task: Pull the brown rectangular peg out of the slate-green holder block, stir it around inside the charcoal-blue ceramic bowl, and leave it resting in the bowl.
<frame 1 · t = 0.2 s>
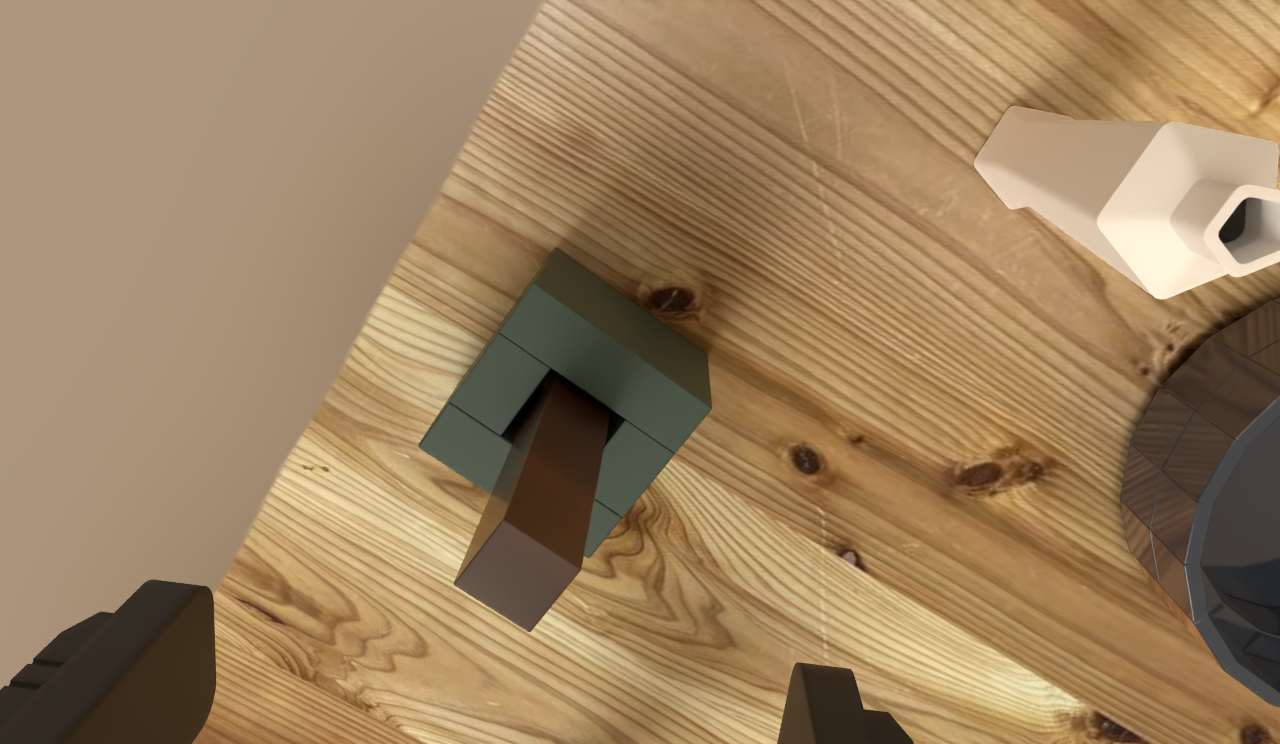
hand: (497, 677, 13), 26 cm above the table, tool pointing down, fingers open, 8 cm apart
brown rectangular peg: (555, 450, 32), in the holder
perfume bottle: (1021, 156, 36), on the table
holder: (579, 372, 39), on the table
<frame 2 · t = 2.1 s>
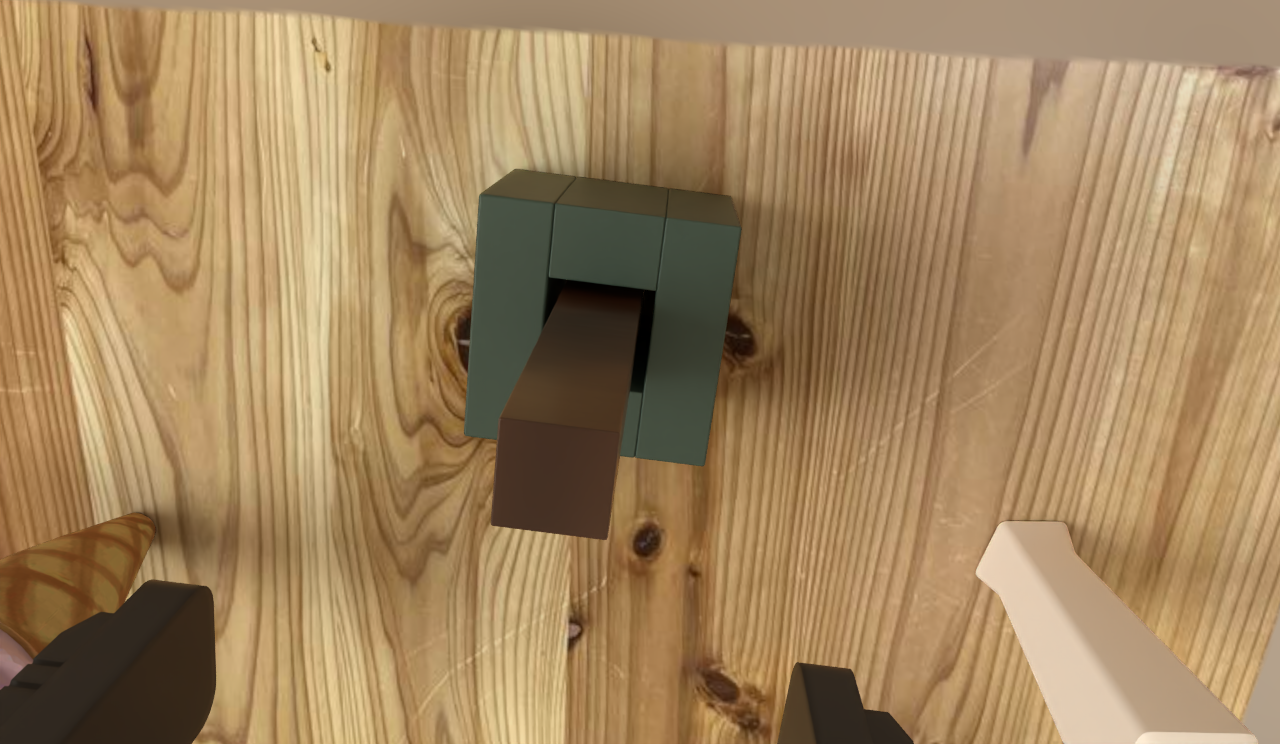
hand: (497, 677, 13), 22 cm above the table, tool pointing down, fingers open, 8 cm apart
brown rectangular peg: (590, 357, 26), in the holder
perfume bottle: (1023, 554, 37), on the table
holder: (610, 288, 34), on the table
ice cream cone: (134, 519, 38), on the table
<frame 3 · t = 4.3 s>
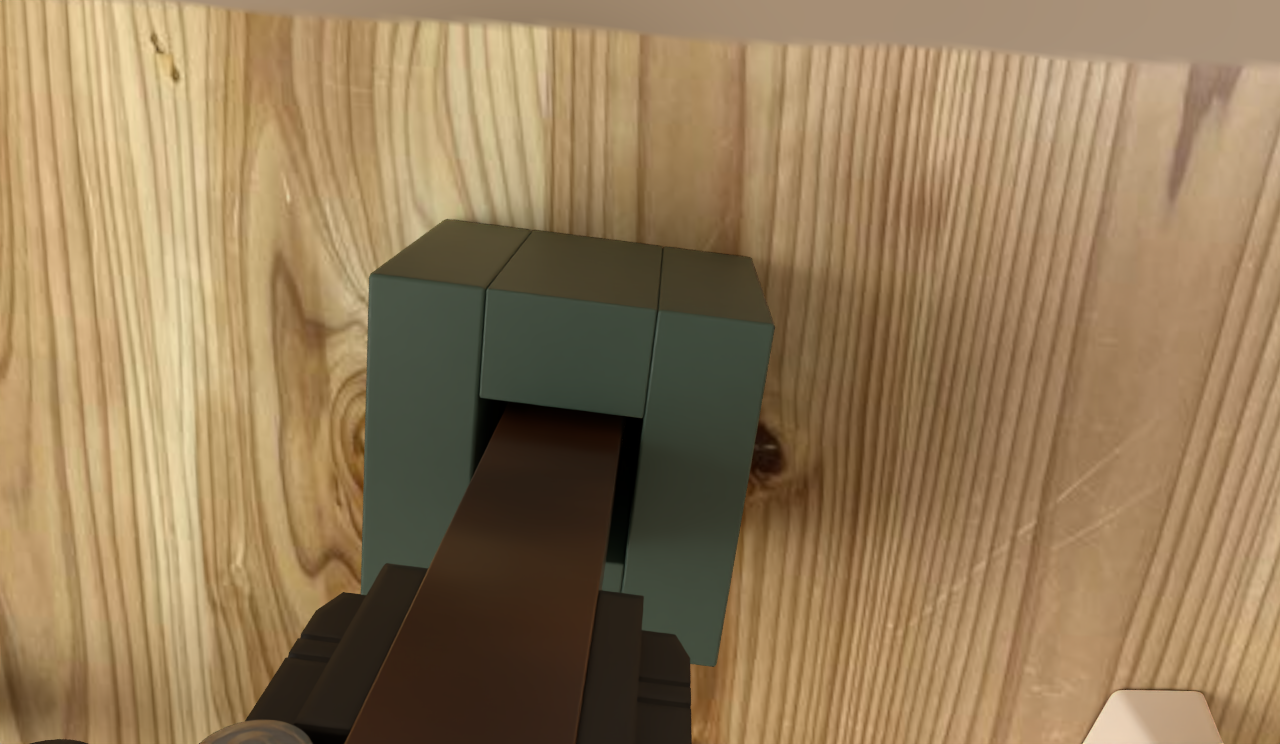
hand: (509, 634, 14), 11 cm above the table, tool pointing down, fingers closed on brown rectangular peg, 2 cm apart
brown rectangular peg: (540, 532, 17), in the holder, touching gripper
perfume bottle: (1142, 730, 27), on the table
holder: (582, 382, 24), on the table
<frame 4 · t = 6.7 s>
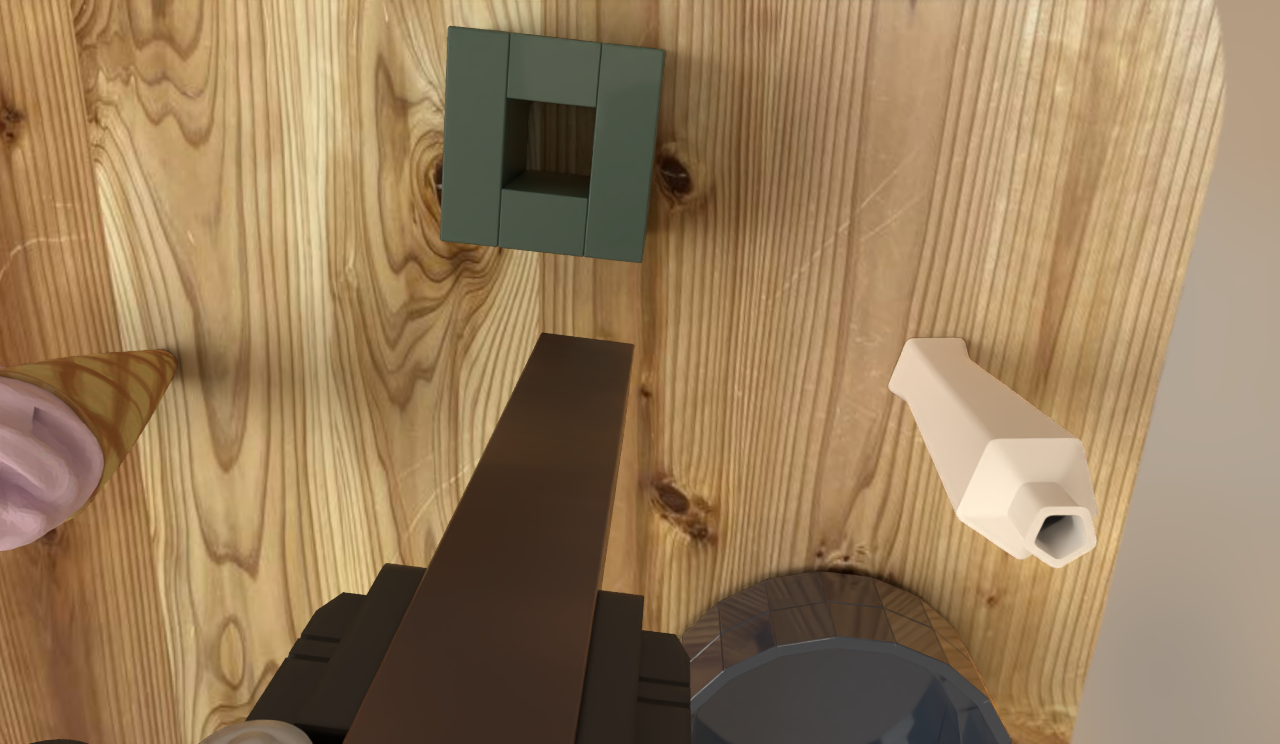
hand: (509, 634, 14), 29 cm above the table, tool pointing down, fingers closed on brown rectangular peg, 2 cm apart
brown rectangular peg: (540, 531, 17), point 26 cm above the table, touching gripper
bowl: (815, 704, 49), on the table
perfume bottle: (929, 369, 43), on the table
holder: (566, 134, 40), on the table
ice cream cone: (159, 356, 44), on the table
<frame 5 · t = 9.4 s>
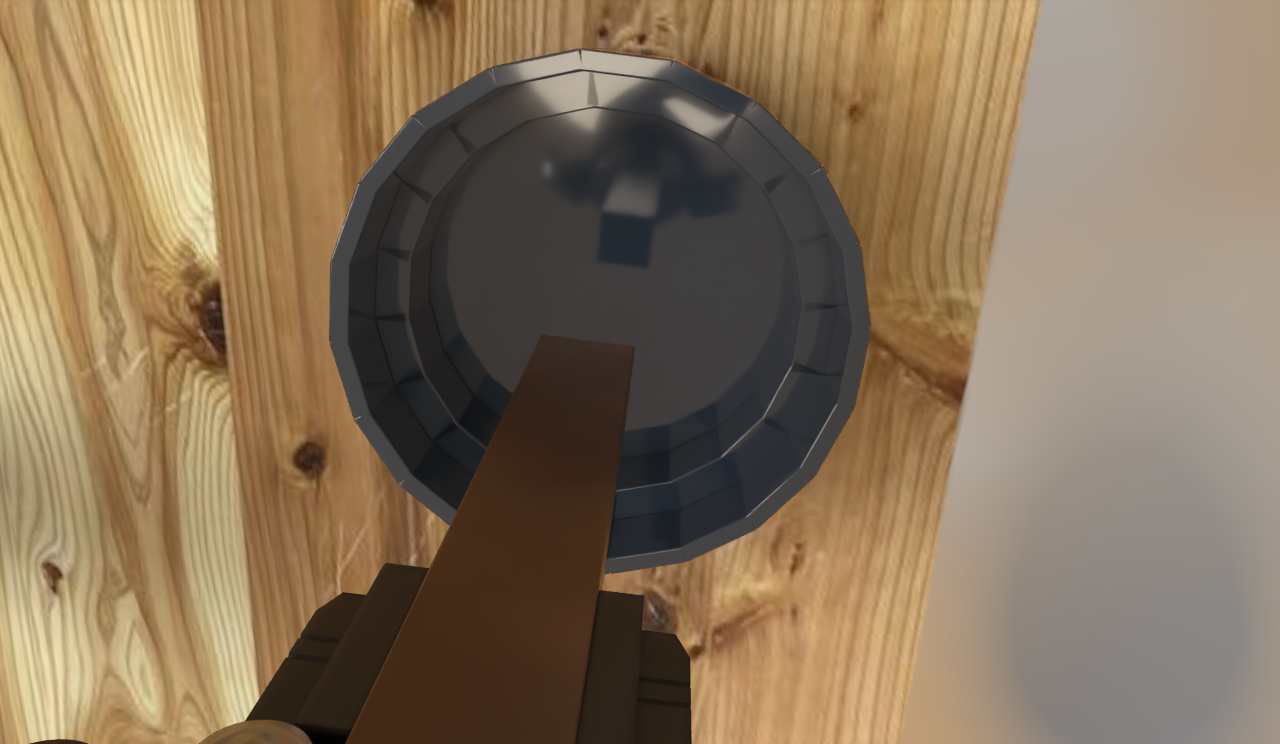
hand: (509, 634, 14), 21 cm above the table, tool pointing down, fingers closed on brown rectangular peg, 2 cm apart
brown rectangular peg: (540, 534, 17), point 18 cm above the table, touching gripper
bowl: (610, 288, 34), on the table
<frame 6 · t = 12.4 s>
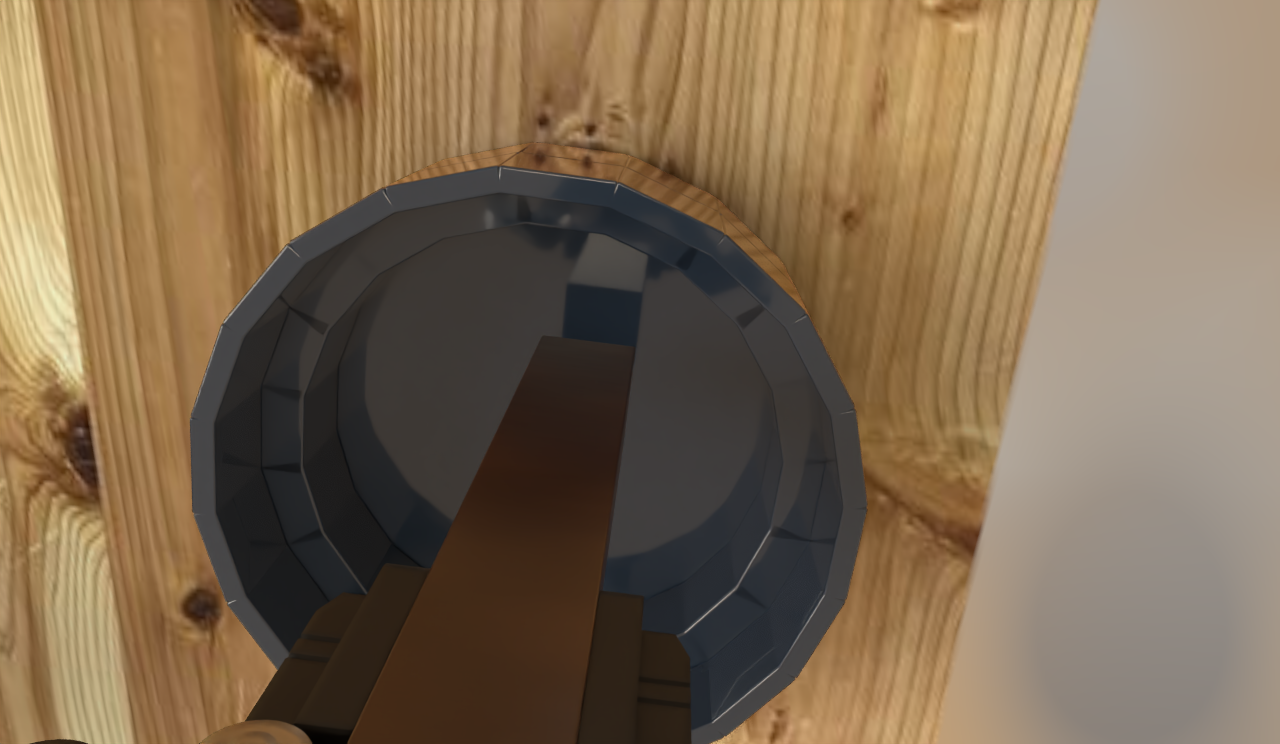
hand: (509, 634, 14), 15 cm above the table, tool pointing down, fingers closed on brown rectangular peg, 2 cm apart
brown rectangular peg: (541, 535, 17), point 11 cm above the table, touching gripper
bowl: (555, 419, 28), on the table
when the fingers open (12 cm above the table, at t = 14.4 s): brown rectangular peg stays where it is, resting on bowl.
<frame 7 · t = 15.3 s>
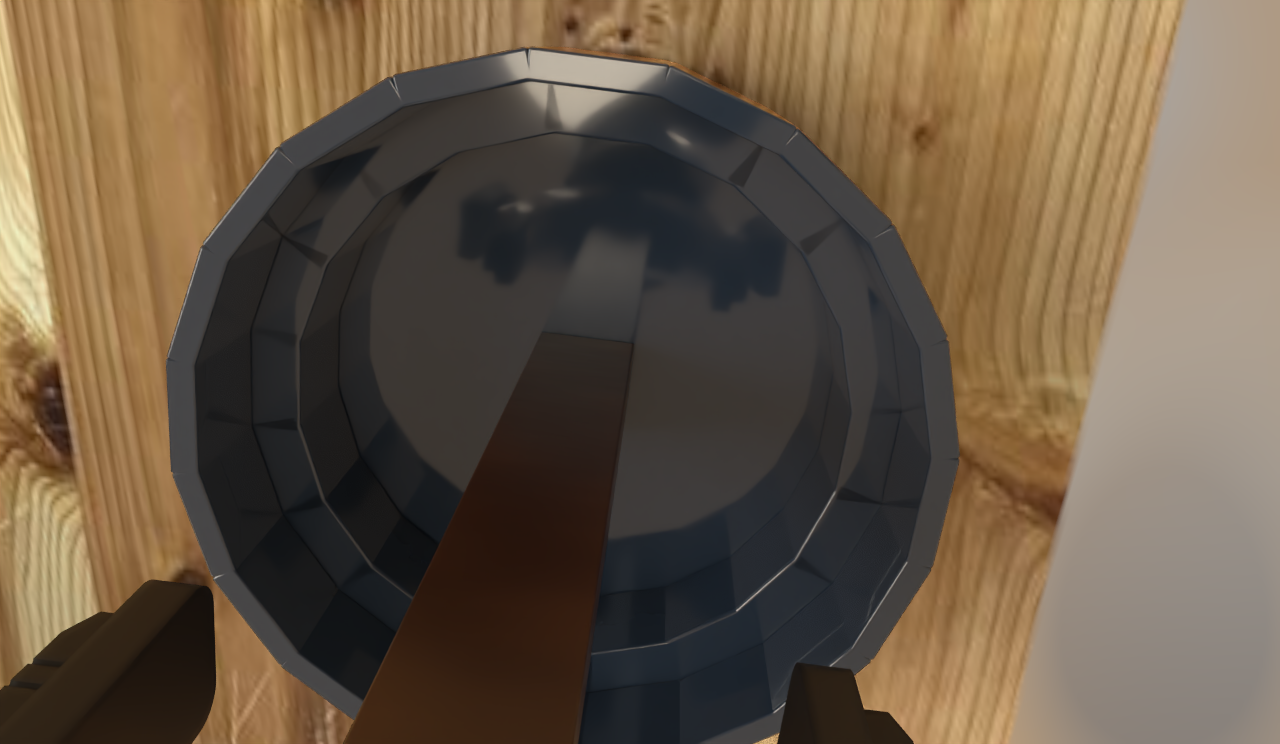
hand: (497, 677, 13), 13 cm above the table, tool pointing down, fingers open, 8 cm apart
brown rectangular peg: (540, 528, 17), in the bowl, point 9 cm above the table
bowl: (584, 372, 25), on the table
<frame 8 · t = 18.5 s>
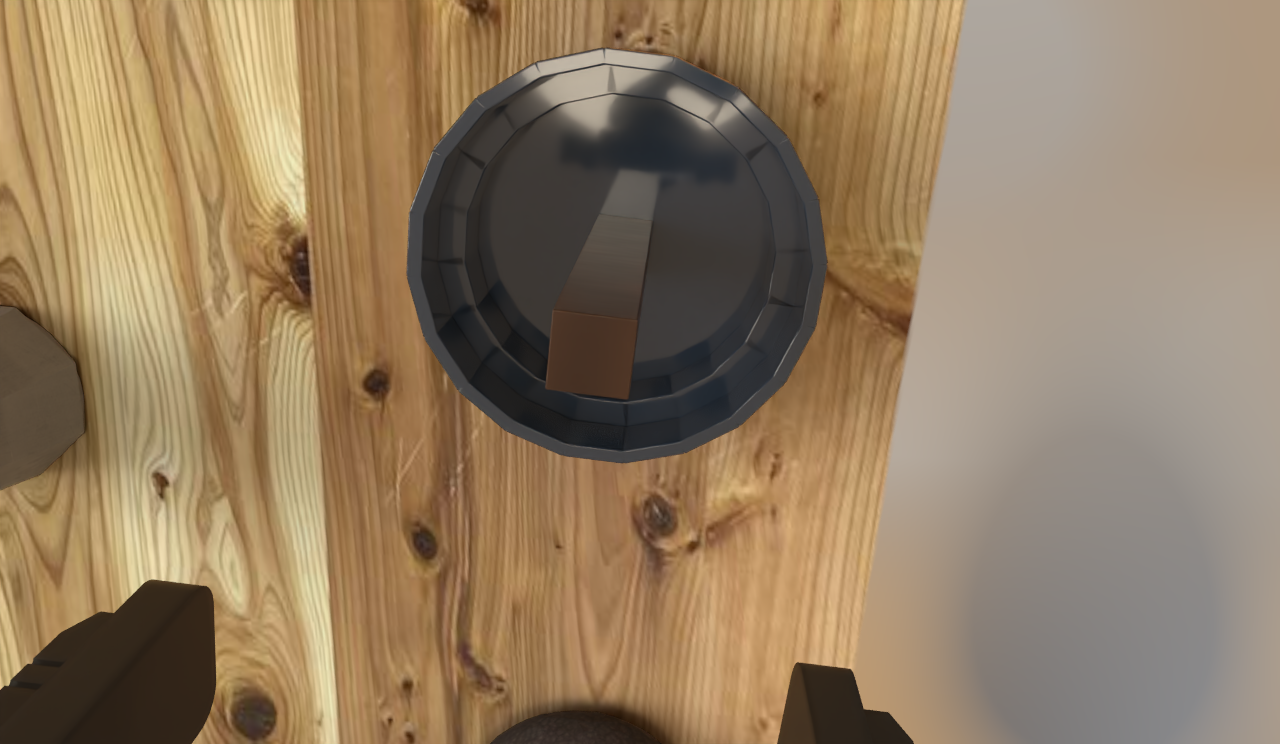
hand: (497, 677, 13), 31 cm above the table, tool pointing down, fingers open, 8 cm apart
brown rectangular peg: (610, 287, 34), in the bowl, point 9 cm above the table
bowl: (623, 240, 42), on the table
coffeepot: (4, 368, 46), on the table
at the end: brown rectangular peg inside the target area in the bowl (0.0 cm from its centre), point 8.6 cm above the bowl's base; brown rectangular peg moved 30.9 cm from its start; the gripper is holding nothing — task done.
